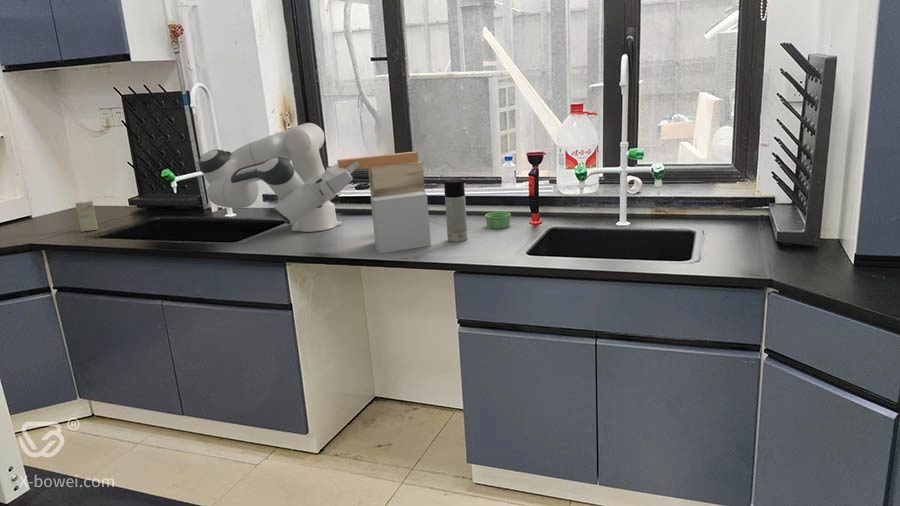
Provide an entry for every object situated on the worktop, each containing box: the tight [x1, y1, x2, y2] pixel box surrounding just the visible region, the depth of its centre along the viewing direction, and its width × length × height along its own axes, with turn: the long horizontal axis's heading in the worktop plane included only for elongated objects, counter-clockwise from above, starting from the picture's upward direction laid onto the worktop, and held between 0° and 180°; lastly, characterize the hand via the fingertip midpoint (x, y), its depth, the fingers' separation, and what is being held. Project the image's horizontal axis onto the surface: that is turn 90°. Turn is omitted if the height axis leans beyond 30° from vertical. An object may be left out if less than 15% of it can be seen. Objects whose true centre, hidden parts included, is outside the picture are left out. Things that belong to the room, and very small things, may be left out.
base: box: [370, 191, 432, 254], centre depth 210 cm, size 6×17×17 cm, turn 109°
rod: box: [336, 151, 419, 170], centre depth 212 cm, size 3×26×3 cm, turn 109°
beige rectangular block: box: [367, 160, 426, 199], centre depth 218 cm, size 6×17×26 cm, turn 109°
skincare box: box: [75, 200, 99, 232], centre depth 271 cm, size 6×4×12 cm
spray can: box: [443, 178, 468, 243], centre depth 214 cm, size 7×7×20 cm
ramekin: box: [485, 211, 511, 230], centre depth 231 cm, size 9×9×4 cm
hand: (356, 162), depth 210 cm, fingers closed on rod, 3 cm apart
